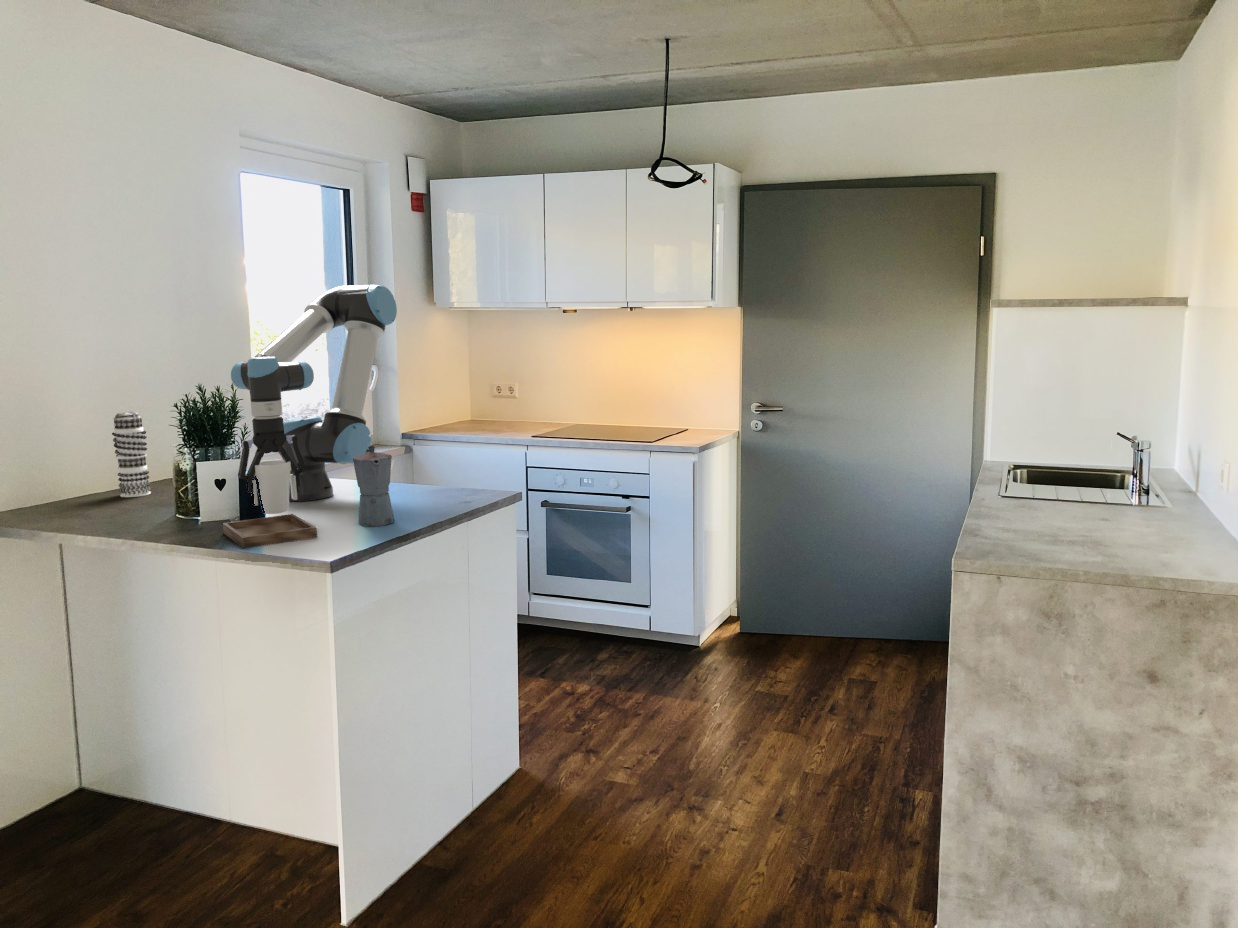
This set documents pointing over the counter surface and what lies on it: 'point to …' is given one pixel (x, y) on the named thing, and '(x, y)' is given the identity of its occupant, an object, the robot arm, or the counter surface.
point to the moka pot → (374, 488)
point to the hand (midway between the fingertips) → (275, 501)
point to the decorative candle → (131, 454)
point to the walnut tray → (269, 530)
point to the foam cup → (274, 485)
